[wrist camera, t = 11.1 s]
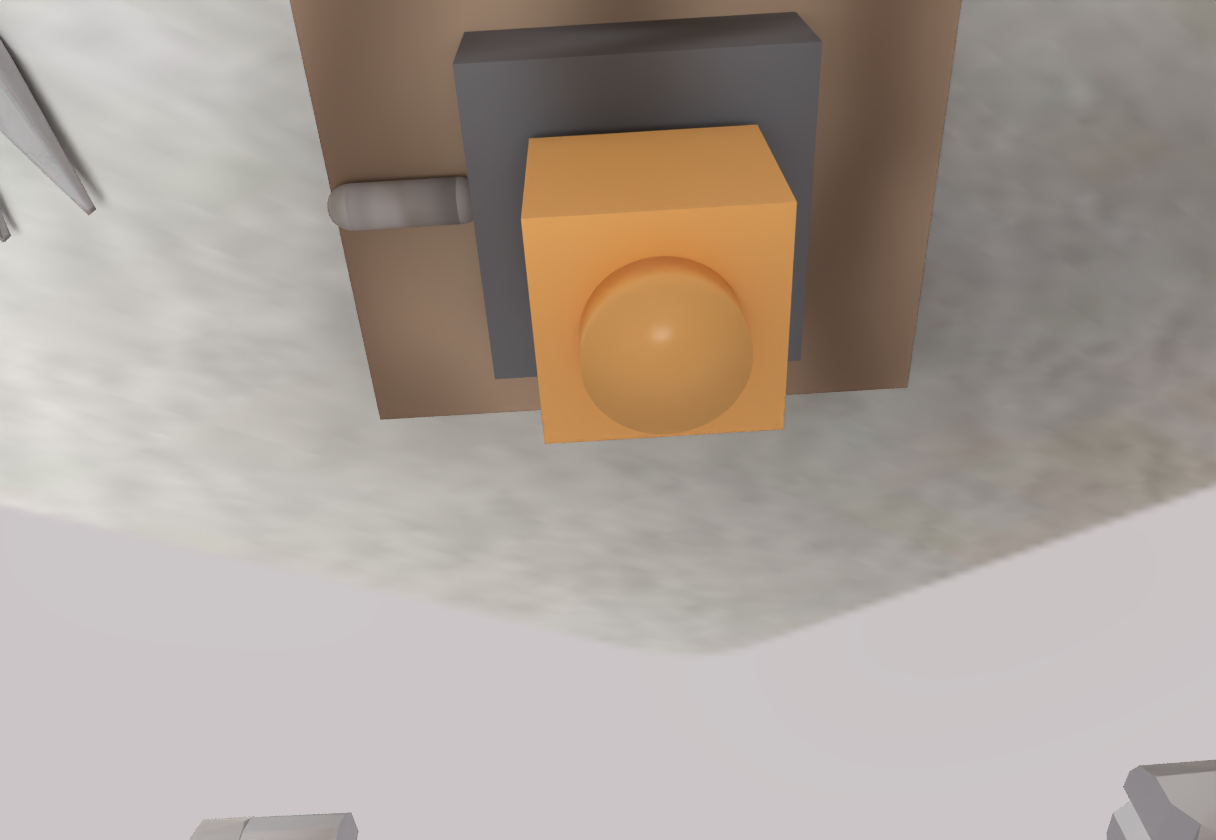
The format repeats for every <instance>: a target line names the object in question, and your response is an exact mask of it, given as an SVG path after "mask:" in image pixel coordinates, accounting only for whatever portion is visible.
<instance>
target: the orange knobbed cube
mask: <svg viewBox="0 0 1216 840" xmlns="http://www.w3.org/2000/svg"><path fill="white" fill-rule="evenodd" d="M796 209H797V201H796V199H795V197H794V195H793V193H792V191H791V189H790V187H789V186H788V184H787V182H786V180H785V178H784V176H783V174H782V172H781V170H780V168H779V166H778V164H777V162H776V160H775V158H774V156H773V154H772V152H771V150H770V148H769V146H768V144H767V142H766V140H765V139H764V137H763V135H762V133H761V131H760V129H759V127H758V125H742V126H725V127H709V128H692V129H676V130H660V131H643V132H627V133H611V134H594V135H578V136H562V137H545V138H529V143H528V153H527V163H526V173H525V183H524V193H523V203H522V213H521V224H522V234H523V243H524V252H525V262H526V271H527V281H528V290H529V300H530V309H531V318H532V328H533V337H534V347H535V356H536V366H537V375H538V384H539V394H540V403H541V413H542V422H543V432H544V441H545V444H551V443H567V442H583V441H600V440H616V439H632V438H649V437H665V436H682V435H698V434H714V433H731V432H747V431H763V430H780V429H784V412H785V395H786V378H787V361H788V344H789V328H790V311H791V294H792V277H793V260H794V243H795V226H796Z"/></svg>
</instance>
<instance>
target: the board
mask: <svg viewBox="0 0 1216 840" xmlns="http://www.w3.org/2000/svg"><path fill="white" fill-rule="evenodd" d="M290 4H291V8H292V13H293V18H294V22H295V27H296V32H297V36H298V41H299V45H300V50H301V55H302V59H303V64H304V68H305V73H306V78H307V82H308V87H309V92H310V96H311V101H312V105H313V110H314V115H315V119H316V124H317V129H318V133H319V138H320V142H321V147H322V152H323V156H324V161H325V166H326V170H327V175H328V179H329V184H330V189H331V195H330V196H329V199H328V212H329V216H330V217H331V219H332V221H333V222H334V223H335V224H336V225H338V226H339V230H340V235H341V240H342V244H343V249H344V253H345V258H346V263H347V267H348V272H349V276H350V281H351V286H352V290H353V295H354V300H355V304H356V309H357V313H358V318H359V323H360V327H361V332H362V337H363V341H364V346H365V350H366V355H367V360H368V364H369V369H370V374H371V378H372V383H373V387H374V392H375V397H376V401H377V406H378V411H379V415H380V420H382V419H399V418H415V417H431V416H448V415H464V414H480V413H497V412H513V411H530V410H541V403H540V394H539V384H538V375H537V366H536V356H535V347H534V337H533V328H532V318H531V309H530V300H529V290H528V281H527V271H526V262H525V252H524V243H523V234H522V224H521V213H522V203H523V193H524V183H525V173H526V163H527V153H528V143H529V138H545V137H562V136H578V135H594V134H611V133H627V132H643V131H660V130H676V129H692V128H709V127H725V126H742V125H758V127H759V129H760V131H761V133H762V135H763V137H764V139H765V140H766V142H767V144H768V146H769V148H770V150H771V152H772V154H773V156H774V158H775V160H776V162H777V164H778V166H779V168H780V170H781V172H782V174H783V176H784V178H785V180H786V182H787V184H788V186H789V187H790V189H791V191H792V193H793V195H794V197H795V199H796V201H797V209H796V226H795V243H794V260H793V277H792V294H791V311H790V328H789V344H788V361H787V378H786V395H792V394H808V393H825V392H841V391H857V390H874V389H890V388H907V386H908V379H909V372H910V365H911V358H912V350H913V343H914V336H915V329H916V322H917V315H918V308H919V300H920V293H921V286H922V279H923V272H924V265H925V258H926V250H927V243H928V236H929V229H930V222H931V215H932V208H933V200H934V193H935V186H936V179H937V172H938V165H939V158H940V150H941V143H942V136H943V129H944V122H945V115H946V108H947V100H948V93H949V86H950V79H951V72H952V65H953V58H954V50H955V43H956V36H957V29H958V22H959V15H960V8H961V0H290Z"/></svg>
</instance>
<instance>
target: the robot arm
mask: <svg viewBox="0 0 1216 840" xmlns="http://www.w3.org/2000/svg"><path fill="white" fill-rule="evenodd" d="M1123 787H1124V789H1125V791H1126V793H1127V794H1128V797H1129V799H1130V801H1129V802H1128V803H1126V804H1125V805H1124V806H1122V807H1121V808H1120V809H1118V810H1117V811H1115V812H1114V813H1113V815H1112V818H1111V821H1110V824H1109V827H1108V831H1107V840H1216V760H1207V761H1195V762H1181V763H1167V764H1154V765H1142V766H1138V767H1137V768H1135V769H1133V770H1131V771H1130V772H1129V774H1128V777H1127V779H1126V781H1125V784H1124V786H1123ZM357 835H358V829H357V827H356V824H355V821H354V819H353V816H352V813H332V814H312V815H292V816H271V817H239V818H224V819H207V820H202V822H201V824H200V825H199V826H198V828H197V829H196V831H195V832H194V833H193V835H192V836H191V839H190V840H357Z"/></svg>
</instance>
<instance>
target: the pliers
mask: <svg viewBox="0 0 1216 840" xmlns="http://www.w3.org/2000/svg"><path fill="white" fill-rule="evenodd" d="M0 131H1V132H2V133H3V134H4V135H5V136H6V137H7V138H8V139H9V140H10V141H11V142H12V143H13V144H14V145H15V146H16V147H17V148H18V149H20V150H21V151H22V152H23V153H24V154H25V155H26V156H27V157H28V158H29V159H30V160H31V161H32V162H33V163H34V164H35V165H36V166H37V167H38V168H39V169H40V170H42V171H43V172H44V173H45V174H46V175H47V176H48V177H49V178H50V179H51V180H52V181H53V182H54V183H55V184H56V185H57V186H58V187H59V188H60V189H61V190H62V191H64V192H65V193H66V194H67V195H68V196H69V197H70V198H71V199H72V200H73V201H74V202H75V203H76V204H77V205H78V206H79V207H80V208H81V209H82V210H83V211H84V212H86V213H87V214H88V215H90V214H91V213H92V212H94V211H95V210H96V208H95V206H94V204H93V203H92V201H91V199H90V197H89V195H88V194H87V192H86V190H85V188H84V187H83V185H82V183H81V181H80V179H79V178H78V176H77V174H76V172H75V170H74V169H73V167H72V165H71V163H70V162H69V160H68V158H67V156H66V154H65V153H64V151H63V149H62V147H61V145H60V144H59V142H58V140H57V138H56V137H55V135H54V133H53V131H52V129H51V128H50V126H49V124H48V122H47V120H46V119H45V117H44V115H43V113H42V112H41V110H40V108H39V106H38V104H37V103H36V101H35V99H34V97H33V95H32V94H31V92H30V90H29V88H28V87H27V85H26V83H25V81H24V79H23V78H22V76H21V74H20V72H19V70H18V69H17V67H16V65H15V63H14V62H13V60H12V58H11V56H10V54H9V53H8V51H7V50H6V48H5V46H4V45H3V43H2V41H1V40H0ZM10 236H11V235H10V232H9V230H8V227H7V225H6V222H5V220H4V217H3V215H2V212H1V210H0V240H1V241H2V242H5V241H6V240H7V239H8V238H9V237H10Z"/></svg>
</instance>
